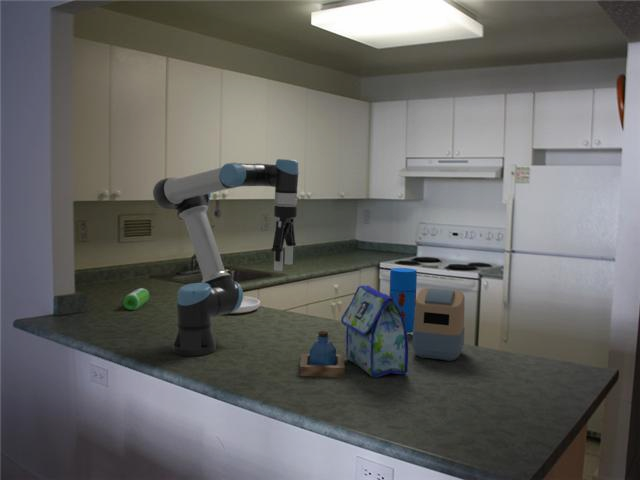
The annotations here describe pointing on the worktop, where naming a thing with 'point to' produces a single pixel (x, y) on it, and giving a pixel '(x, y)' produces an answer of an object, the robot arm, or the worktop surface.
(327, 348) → the perfume bottle
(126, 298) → the speaker
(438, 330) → the alarm clock
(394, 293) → the thermos
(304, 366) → the wooden picture frame
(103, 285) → the worktop surface
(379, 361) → the lunch bag
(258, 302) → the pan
